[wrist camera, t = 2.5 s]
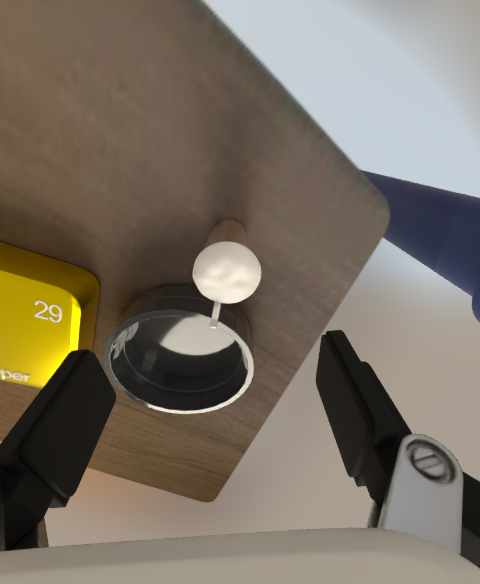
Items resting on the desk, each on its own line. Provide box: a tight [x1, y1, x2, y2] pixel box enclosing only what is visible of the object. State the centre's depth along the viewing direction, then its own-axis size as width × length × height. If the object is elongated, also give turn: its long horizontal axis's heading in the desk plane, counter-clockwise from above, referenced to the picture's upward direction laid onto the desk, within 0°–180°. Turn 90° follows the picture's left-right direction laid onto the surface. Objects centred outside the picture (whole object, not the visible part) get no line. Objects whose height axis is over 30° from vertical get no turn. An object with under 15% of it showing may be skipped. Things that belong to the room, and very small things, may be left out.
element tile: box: [0, 242, 100, 388], centre depth 25 cm, size 15×15×5 cm
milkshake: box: [193, 219, 261, 328], centre depth 19 cm, size 4×5×10 cm
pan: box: [103, 285, 254, 414], centre depth 28 cm, size 15×15×5 cm
